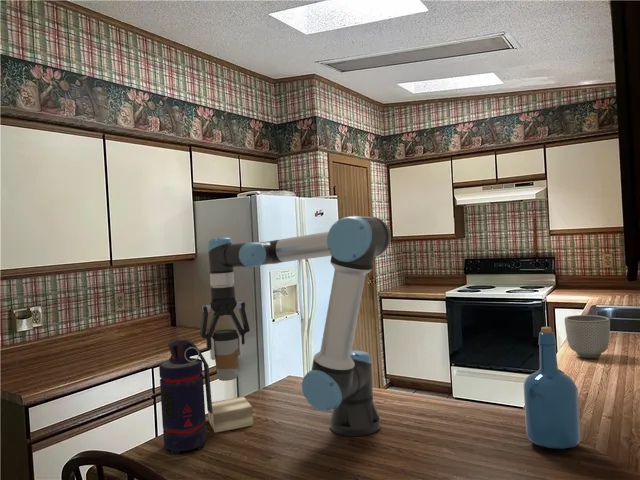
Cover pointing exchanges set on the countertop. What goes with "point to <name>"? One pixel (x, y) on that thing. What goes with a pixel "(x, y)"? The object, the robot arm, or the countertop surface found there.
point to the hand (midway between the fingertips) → (226, 356)
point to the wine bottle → (551, 400)
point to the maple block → (230, 414)
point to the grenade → (184, 397)
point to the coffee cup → (226, 354)
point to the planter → (588, 334)
